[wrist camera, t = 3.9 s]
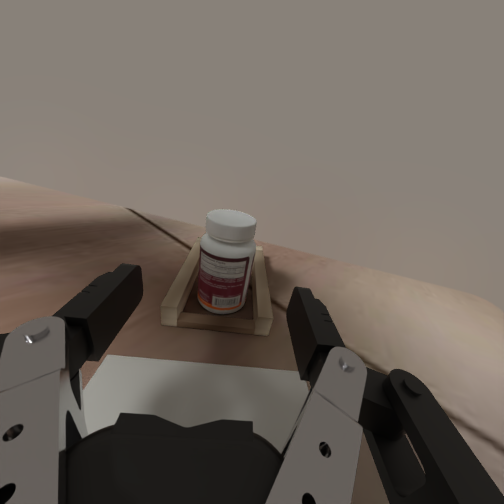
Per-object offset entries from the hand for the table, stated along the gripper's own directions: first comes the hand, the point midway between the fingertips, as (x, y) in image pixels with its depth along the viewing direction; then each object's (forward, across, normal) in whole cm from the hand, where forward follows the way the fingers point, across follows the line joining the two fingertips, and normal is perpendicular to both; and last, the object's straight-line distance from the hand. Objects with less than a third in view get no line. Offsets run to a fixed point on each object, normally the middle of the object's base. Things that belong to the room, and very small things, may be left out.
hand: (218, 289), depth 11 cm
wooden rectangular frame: (+10, 0, +6) cm, 12 cm away
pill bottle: (+7, 0, +7) cm, 10 cm away
